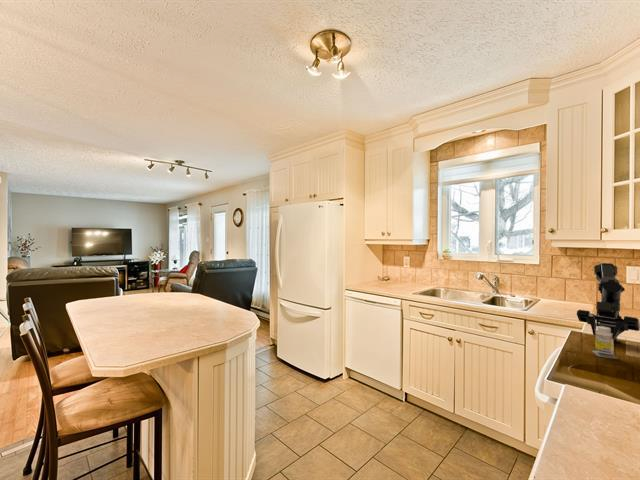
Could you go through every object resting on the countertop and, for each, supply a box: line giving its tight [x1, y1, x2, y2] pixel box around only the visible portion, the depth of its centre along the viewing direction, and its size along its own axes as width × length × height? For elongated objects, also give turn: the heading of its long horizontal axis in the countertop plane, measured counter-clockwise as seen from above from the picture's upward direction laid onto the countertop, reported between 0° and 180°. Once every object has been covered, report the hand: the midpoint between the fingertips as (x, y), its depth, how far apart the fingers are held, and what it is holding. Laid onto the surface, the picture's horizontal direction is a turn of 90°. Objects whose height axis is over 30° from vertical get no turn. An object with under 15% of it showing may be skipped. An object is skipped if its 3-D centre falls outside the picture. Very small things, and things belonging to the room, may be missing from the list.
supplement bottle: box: [594, 326, 615, 355], centre depth 123 cm, size 6×6×10 cm
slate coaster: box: [591, 350, 619, 360], centre depth 123 cm, size 6×6×1 cm
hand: (603, 336), depth 122 cm, fingers closed on supplement bottle, 5 cm apart
